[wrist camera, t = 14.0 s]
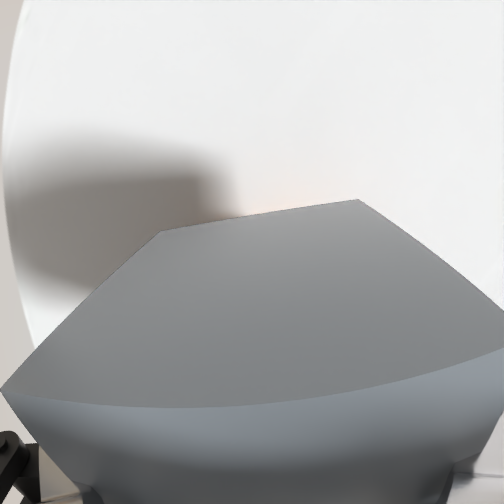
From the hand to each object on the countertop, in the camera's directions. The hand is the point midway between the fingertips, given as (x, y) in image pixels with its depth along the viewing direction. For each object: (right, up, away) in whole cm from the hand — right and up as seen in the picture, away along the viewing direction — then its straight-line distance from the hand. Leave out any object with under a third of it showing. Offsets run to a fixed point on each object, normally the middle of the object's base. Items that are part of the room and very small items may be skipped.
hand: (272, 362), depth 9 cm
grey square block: (0, +1, +3) cm, 4 cm away
